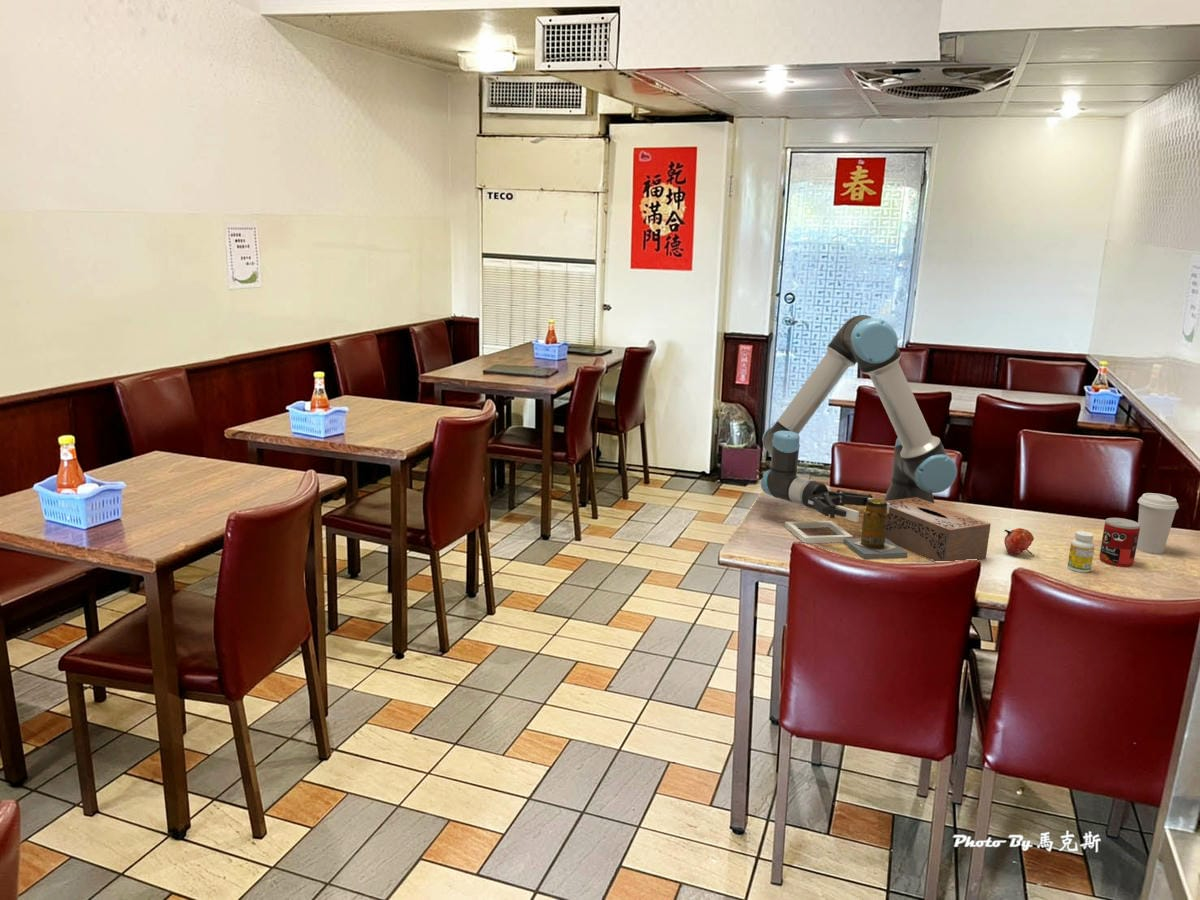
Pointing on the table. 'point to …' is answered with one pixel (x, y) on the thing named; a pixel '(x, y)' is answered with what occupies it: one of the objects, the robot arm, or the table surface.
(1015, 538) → the pomegranate
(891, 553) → the charcoal tile
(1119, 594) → the table surface
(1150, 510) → the coffee cup
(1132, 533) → the canned food
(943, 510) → the tissue box cover
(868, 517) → the condiment
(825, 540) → the pocket holder
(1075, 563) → the supplement bottle
